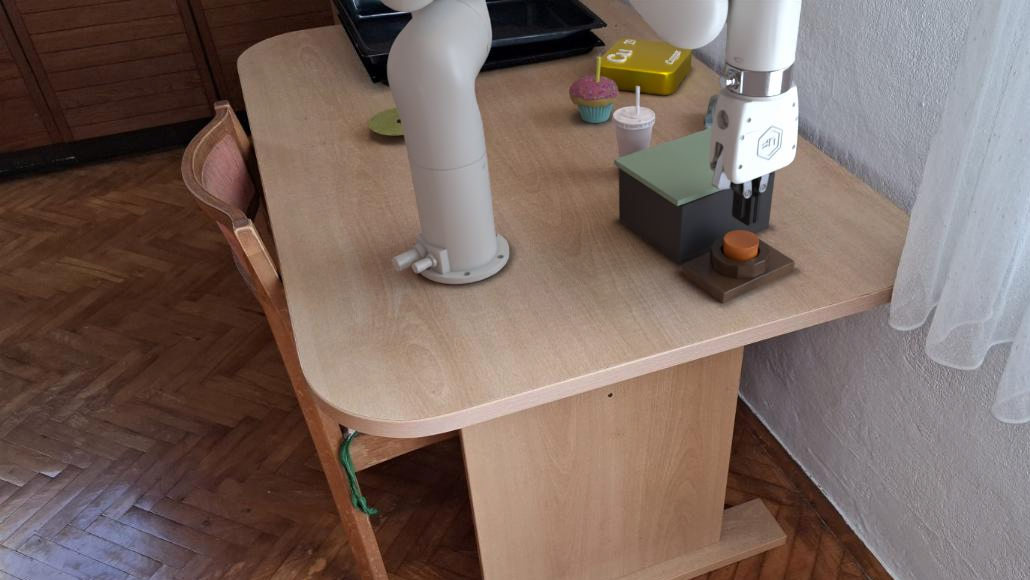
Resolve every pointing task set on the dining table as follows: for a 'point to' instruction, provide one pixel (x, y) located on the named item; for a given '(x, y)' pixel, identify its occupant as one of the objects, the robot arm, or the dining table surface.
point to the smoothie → (633, 127)
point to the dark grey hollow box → (684, 218)
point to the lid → (674, 168)
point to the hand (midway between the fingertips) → (744, 219)
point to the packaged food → (710, 112)
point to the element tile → (646, 66)
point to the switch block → (736, 271)
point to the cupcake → (594, 96)
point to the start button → (740, 245)
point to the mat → (387, 122)
